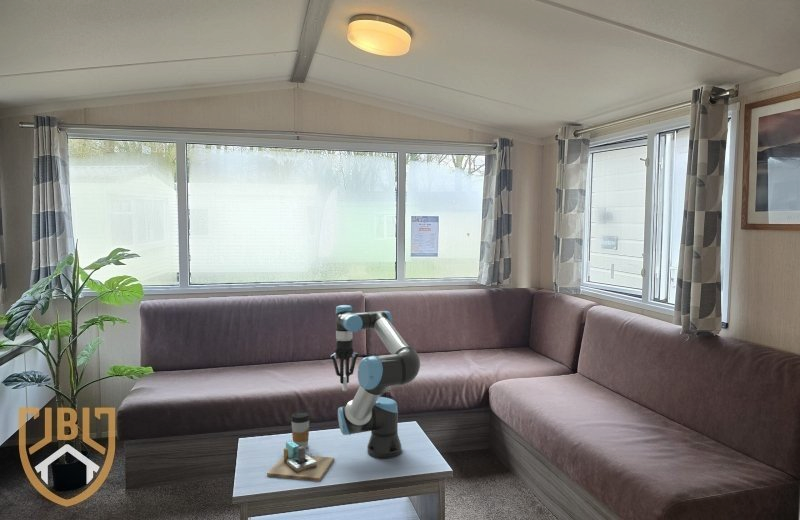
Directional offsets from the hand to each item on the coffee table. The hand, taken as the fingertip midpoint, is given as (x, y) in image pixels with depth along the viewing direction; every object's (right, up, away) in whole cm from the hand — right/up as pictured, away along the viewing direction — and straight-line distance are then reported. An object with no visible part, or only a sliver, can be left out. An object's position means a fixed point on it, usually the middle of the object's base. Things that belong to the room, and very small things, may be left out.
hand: (344, 390), depth 232 cm
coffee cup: (-19, -25, -4) cm, 32 cm away
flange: (-17, -24, -22) cm, 37 cm away
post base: (-15, -26, -24) cm, 38 cm away
